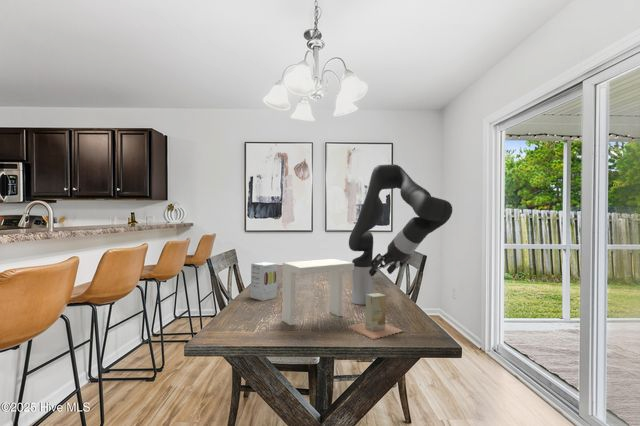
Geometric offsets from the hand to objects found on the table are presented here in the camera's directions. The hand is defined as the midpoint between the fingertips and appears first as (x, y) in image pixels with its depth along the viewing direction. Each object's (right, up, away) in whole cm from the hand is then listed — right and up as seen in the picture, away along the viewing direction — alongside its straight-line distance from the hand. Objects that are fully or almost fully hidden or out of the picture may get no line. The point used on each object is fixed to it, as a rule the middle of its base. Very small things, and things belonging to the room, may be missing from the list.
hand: (379, 273), depth 123 cm
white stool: (-22, -21, +12) cm, 32 cm away
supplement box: (-49, -20, +46) cm, 70 cm away
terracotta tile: (-1, -21, +2) cm, 21 cm away
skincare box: (-1, -20, +2) cm, 20 cm away
